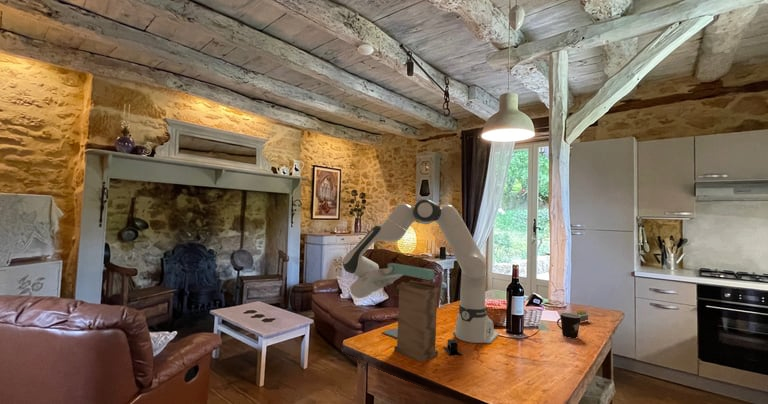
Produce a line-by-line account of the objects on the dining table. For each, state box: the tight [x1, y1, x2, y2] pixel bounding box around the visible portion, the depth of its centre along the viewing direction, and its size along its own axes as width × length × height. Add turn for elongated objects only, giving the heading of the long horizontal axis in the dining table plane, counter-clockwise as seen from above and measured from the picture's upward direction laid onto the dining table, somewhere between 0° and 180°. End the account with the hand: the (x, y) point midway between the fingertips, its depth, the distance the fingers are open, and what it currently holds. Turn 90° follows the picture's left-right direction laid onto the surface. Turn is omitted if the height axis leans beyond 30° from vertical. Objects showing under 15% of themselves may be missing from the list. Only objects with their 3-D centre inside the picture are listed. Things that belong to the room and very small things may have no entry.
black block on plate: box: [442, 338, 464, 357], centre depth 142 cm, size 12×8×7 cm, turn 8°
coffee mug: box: [556, 312, 581, 339], centre depth 167 cm, size 12×9×10 cm
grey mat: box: [381, 327, 398, 340], centre depth 156 cm, size 9×22×1 cm, turn 46°
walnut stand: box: [393, 280, 441, 363], centre depth 139 cm, size 10×14×28 cm
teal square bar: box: [387, 262, 436, 281], centre depth 143 cm, size 4×22×4 cm, turn 46°
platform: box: [574, 309, 591, 322], centre depth 192 cm, size 12×18×7 cm, turn 117°
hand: (396, 267), depth 148 cm, fingers closed on teal square bar, 3 cm apart
